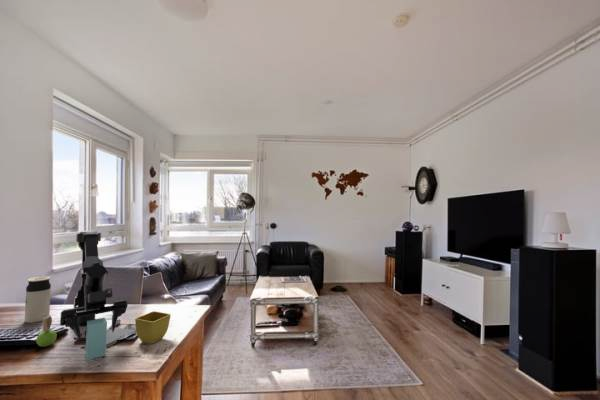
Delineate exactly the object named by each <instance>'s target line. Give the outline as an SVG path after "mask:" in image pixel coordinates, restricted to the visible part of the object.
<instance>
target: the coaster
mask: <svg viewBox="0 0 600 400" xmlns="http://www.w3.org/2000/svg"><path fill="white" fill-rule="evenodd" d="M134 331H135V332H136V329H130V328H129V329H128V328H122V327H116V326H115V329H114V332H112V328H111V329H109V330H107V335H106V348H109V347H110V346H113V345H114V344H117V343H118V342H117V340H118V339H119V337H120V336H123V335H125V334H127V333H128V334H129V333H132V332H134ZM116 342H117V343H116Z"/></svg>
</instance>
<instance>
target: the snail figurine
mask: <svg viewBox="0 0 600 400" xmlns="http://www.w3.org/2000/svg"><path fill="white" fill-rule="evenodd" d="M44 316H47V315H43V320H42V321H41V322H42V332H40V333H39V334H38V335H37V337H36V339H35V343H36V344H37V345H38V347H40V348H43V347H44V348H45V347H50V346H51V345H52V344H54V342H55V341H56V340H57V336H58V335H57V332H56V331H55V330H53V329H51V326H52V323H53V317H52V316H51V315H49V316H47V317H46V318H44Z"/></svg>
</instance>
